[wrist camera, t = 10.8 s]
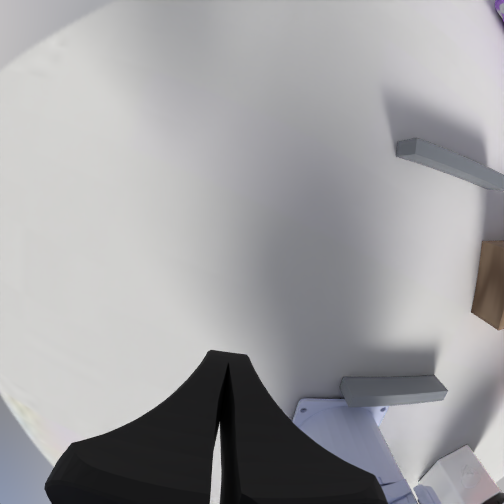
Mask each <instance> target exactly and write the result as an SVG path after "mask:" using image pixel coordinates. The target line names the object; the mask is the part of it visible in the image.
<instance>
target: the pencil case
mask: <svg viewBox="0 0 504 504" xmlns="http://www.w3.org/2000/svg"><path fill="white" fill-rule="evenodd" d="M495 8H496V10H497V12H498V13H499V15H500V16H501V18H502V19H503V21H504V0H496V1H495Z"/></svg>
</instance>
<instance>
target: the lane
mask: <svg viewBox="0 0 504 504" xmlns="http://www.w3.org/2000/svg"><path fill="white" fill-rule="evenodd" d="M396 157H400V158H403V159H406V160H409V161H412V162H416V163H419V164H422V165H425V166H428V167H431V168H433V169H436V170H439V171H442V172H445V173H447V174H450V175H453V176H455V177H458V178H461V179H463V180H466V181H468V182H471V183H473V184H476V185H478V186H481V187H483V188H486V189H490V190H500V191H504V175H503V174H501V173H499V172H497V171H495V170H493V169H491V168H489V167H486V166H484V165H482V164H480V163H478V162H476V161H474V160H471V159H469V158H467V157H465V156H462V155H460V154H458V153H455V152H453V151H450V150H448V149H445V148H443V147H440V146H438V145H435V144H433V143H430V142H427V141H425V140H422V139H419V138H413V139H409V140H404V141H399V142H398V145H397V153H396ZM340 389H341V391H342V394H343V396H344V398H345V400H346V403H347V405H348V407H375V406H392V405H405V404H416V403H425V402H433V401H441V400H444V398H445V396H446V394H447V392H448V390H447V389H446V388H445V386H444V385H443V384H442V383H441V382H440V381H439V380H438V379H437V377H436V376H435V375H428V376H408V377H343V380H342V382H341V385H340Z"/></svg>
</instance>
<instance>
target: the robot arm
mask: <svg viewBox="0 0 504 504" xmlns="http://www.w3.org/2000/svg"><path fill="white" fill-rule="evenodd" d="M303 408H306V409H304V410H301V409H303ZM381 408H382V409H381ZM388 408H389V406H375V407H348V405H347V403H346V400H345V399H312V398H304V399H301V400H300V401H299V402H298V405H297V408H296V411H295V414H294V417H293V420H292V421H291V420H290V419H289V418H288V417H287V416H286V415H285V413H284V412H283V411H282V410H281V409H280V408H279V406H278V405H277V404H276V402H275V401H274V400H273V398H272V397H271V396H270V394H269V393H268V391H267V390H266V388H265V387H264V385H263V384H262V382H261V380H260V379H259V377H258V375H257V373H256V371H255V369H254V368H253V365H252V363H251V361H250V359H249V357H248V356H247V355H245V354H237V353H230V352H222V351H215V350H210V351H208V352H207V354H206V356H205V358H204V359H203V361H202V362H201V364H200V365H199V366H198V368H197V369H196V370H195V371H194V372H193V374H192V375H191V376H190V377H189V378H188V379H187V380H186V381H185V382H184V383H183V384H182V385H181V386H180V387H179V388H178V389H177V390H176V391H175V392H174V393H173V394H172V395H171V396H169V397H168V398H167V399H166V400H165V401H163V402H162V403H161V404H159V405H158V406H157V407H155V408H154V409H152V410H151V411H149V412H147V413H146V414H144V415H143V416H141V417H139V418H138V419H136V420H134V421H132V422H130V423H128V424H126V425H124V426H122V427H120V428H117V429H115V430H113V431H111V432H108V433H105V434H103V435H99V436H96V437H93V438H89V439H86V440H82V441H78V442H74V443H71V445H70V446H69V447H68V449H67V450H66V451H65V452H64V453H63V455H62V456H61V457H60V459H59V460H58V461H57V463H56V465H55V467H54V468H53V470H52V472H51V474H50V476H49V478H48V479H47V481H46V483H45V491H46V493H47V496H48V498H49V499H50V501H51V503H52V504H210V492H211V475H212V461H213V450H214V446H215V441H216V437H217V432H218V427H219V423H220V442H221V469H222V477H221V495H220V504H418V503H417V501H416V499H415V496H414V495H413V493H412V491H411V489H410V487H409V485H408V483H407V481H406V479H404V477H403V475H402V473H401V471H400V469H399V467H398V465H397V463H396V461H395V459H394V457H393V455H392V453H391V451H390V449H389V447H388V445H387V443H386V441H385V439H384V437H383V435H382V433H381V431H380V429H379V425H380V424H381V422H382V420H383V418H384V416H385V414H386V412H387V410H388ZM413 489H414V491H415V493H416V495H417V497H418V502H419V504H441V502H440V500H439V498H438V496H437V495H436V493H435V491H434V490H433V488H432V487H430V486H423V485H422V484H419V485H417V486H416V487H414V488H413ZM503 504H504V503H503Z"/></svg>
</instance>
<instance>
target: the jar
mask: <svg viewBox="0 0 504 504" xmlns="http://www.w3.org/2000/svg"><path fill="white" fill-rule="evenodd" d="M418 484H422V485H423V486H430V487H432V488H433V490H434V491H435V493H436V495H437V496H438V498H439V500H440V502H441V504H503V503H504V493H502V492H501V490H500V489H499V487H498V486H497V484H496V483H495V481H494V480H493V479H492V477H491V476H490V474H489V473H488V471H487V470H486V469H485V467H484V466H483V464H482V463H481V462H480V460H479V459H478V458H477V456H476V455H475V454H474V452H473V451H472V450H471V448H470V447H469V446H468V445H465V446H463V447H462V448H460V449H458V450H456V451H454V452H452V453H451V454H449V455H447V456H445V457H443V458H441V459H439V460H437V462H436V463H435V464H434V465H433V466H432V467H431V469H430V470H429V471H428V472H427V473H426V474H425V475H424V476H423V478H422V479H421V480H420V481H419V482H418Z"/></svg>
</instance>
